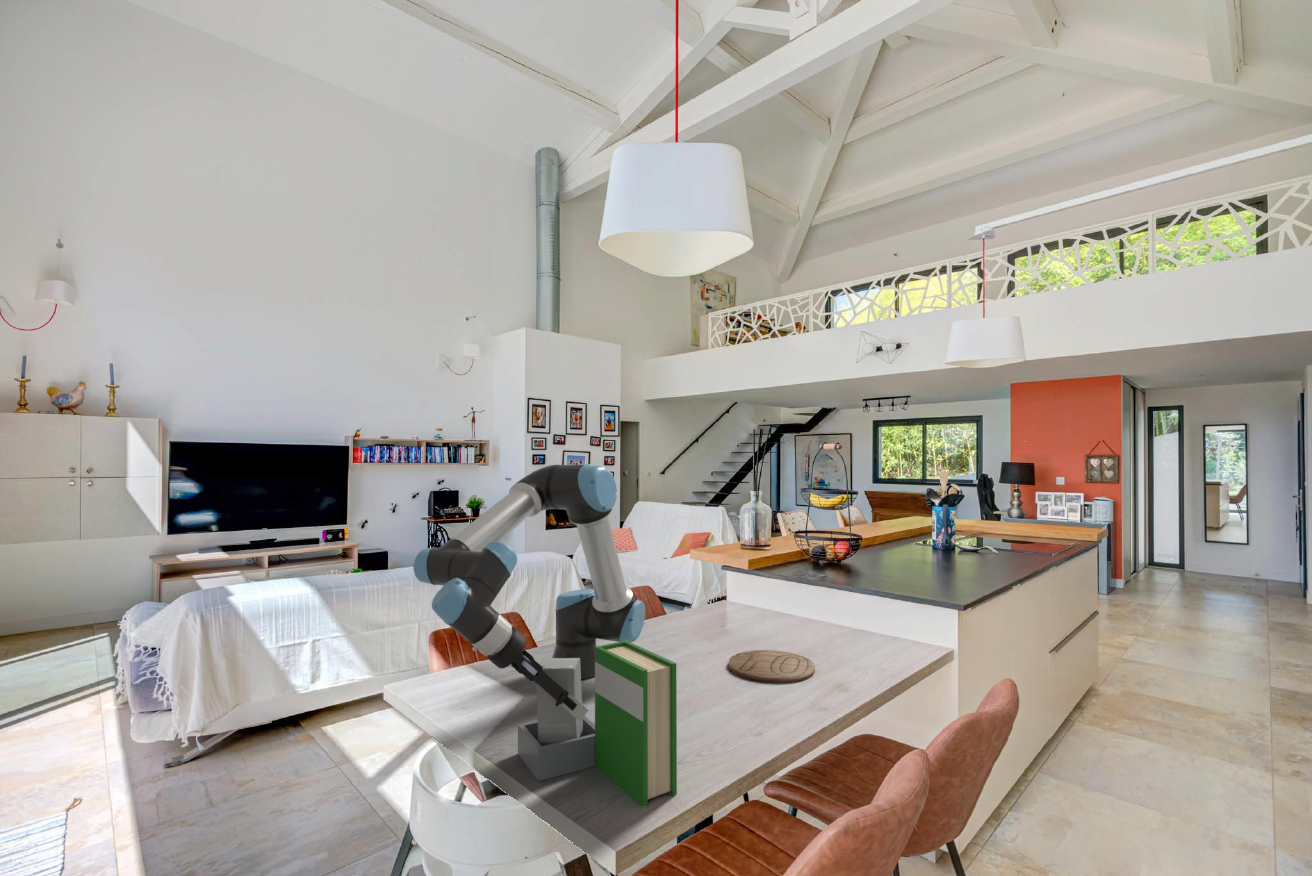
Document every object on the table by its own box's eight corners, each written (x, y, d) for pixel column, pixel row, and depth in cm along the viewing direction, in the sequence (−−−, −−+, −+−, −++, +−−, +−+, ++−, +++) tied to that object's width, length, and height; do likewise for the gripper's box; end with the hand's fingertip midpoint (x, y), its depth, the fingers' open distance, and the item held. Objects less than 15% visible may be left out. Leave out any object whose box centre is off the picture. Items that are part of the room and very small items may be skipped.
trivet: (721, 679, 176) (720, 672, 176) (736, 653, 200) (736, 647, 200) (812, 688, 169) (812, 681, 169) (816, 660, 193) (816, 654, 193)
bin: (517, 753, 132) (517, 724, 132) (579, 738, 139) (579, 711, 139) (538, 781, 120) (538, 749, 120) (604, 763, 127) (604, 733, 127)
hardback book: (676, 794, 116) (676, 663, 116) (643, 807, 111) (643, 671, 112) (626, 757, 130) (626, 640, 131) (594, 767, 126) (594, 646, 127)
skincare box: (583, 732, 132) (583, 656, 133) (575, 747, 125) (576, 667, 126) (544, 730, 133) (544, 655, 134) (534, 745, 126) (535, 666, 127)
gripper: (472, 642, 132) (543, 704, 139) (501, 673, 113) (582, 743, 120) (497, 614, 135) (566, 676, 142) (530, 639, 116) (607, 709, 123)
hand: (573, 706), depth 131 cm, fingers closed on skincare box, 9 cm apart
